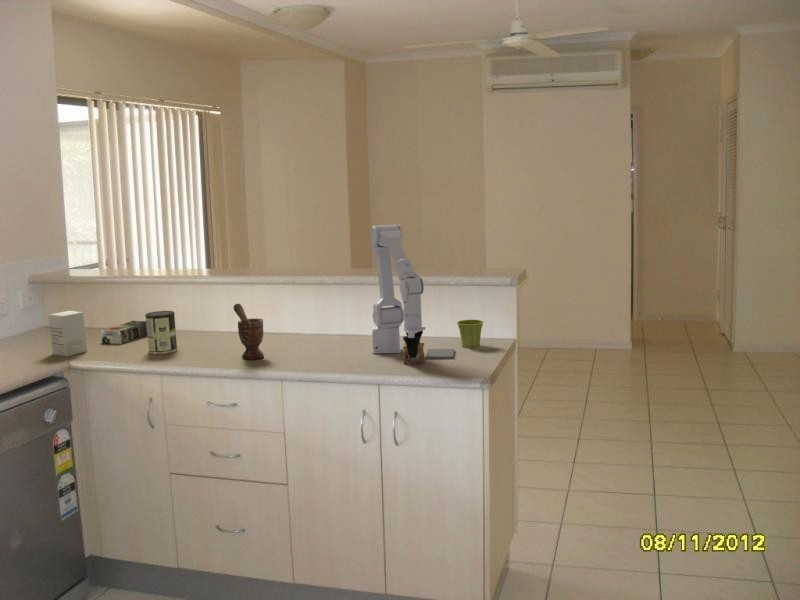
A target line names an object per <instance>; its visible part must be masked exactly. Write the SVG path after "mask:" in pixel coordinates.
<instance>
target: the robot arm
mask: <svg viewBox="0 0 800 600" xmlns="http://www.w3.org/2000/svg"><path fill="white" fill-rule="evenodd" d="M403 235H404V234H403V228H402V226H401V225H400V224H399V223H395V224H385V225H375V224H374V225H373V226H372V228H370V233H369V236H370V247H371V250H373V251H375V255H376V265H377V267H376V268H377V276H378V287H379V289H378V290H379V299H378V300H377V301H376V302H375V303H373V306H372V308H373V311H372V320H373V323H374V325H376V326H373V327H372V335H371V336H372V354H400V353H401V352H402V350H403V346H401V339H400V336H401V335H400V334H401V333H400V327H401V326H402V323H403V331H404V332H405V335H404V336H403V341H404V343H406V346H407V349H408V353H409V356H408V357H409V359H416V358H417V350H418V344H419V343H421V338H422V335H423V334H424V333H423V332H424V331H426V327H425V326H422V325H423V324H422V322H423V321H422V319H423V318H422V296H421V295H422V294H423V293H424V288H425V287H424V285H425V284H424V281H423V278H422V277H421V276H419V274H417V273H416V271H415V268H414V266H413V264H412V262H411V260H410V259H407V258H406V254H405V252H404V247H403V245H402V241H403ZM392 258H393V260H394V262H395V264H394V270H395V273H396V276H397V278H398V280H399V282H400V283H399V291H400V294H401V295H400V296H401V301H403V302H401V301H400V300H398V299H397V298H396V297H395V290H394V289H395V288H394V279H393V278H394V277H393V268H392ZM402 303H403V304H402Z"/></svg>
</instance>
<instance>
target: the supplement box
mask: <svg viewBox="0 0 800 600" xmlns="http://www.w3.org/2000/svg"><path fill="white" fill-rule="evenodd" d="M48 323H49V332H50V333H49V334H50V342H51V349H52V351H51V352H52V354H53V355H56V356H62V357H70V356H74V355H78V354H82V353H86V352H88V347H87V337H86V327H85V326H86V325H85V316H84V312H83V311H75V310H67V311H65V310H64V311H61V312H56V313H49V314H48Z"/></svg>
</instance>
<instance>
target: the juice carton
mask: <svg viewBox="0 0 800 600" xmlns="http://www.w3.org/2000/svg"><path fill="white" fill-rule="evenodd" d="M100 332H101V343H102V344H106V343H107V344H112V345H115V344H116V345H123V344H126V343H129V342H131V341H132V342H133V341H135V340H139V339H142V338H145V337H148V336H147V325H146V320H145V321H144V320H142V321H141V320H138V321H137V320H131V321H129V322H126V323H125V322H124V323H122V324H121V323H120V324H118V325H114V326H111V327H107V328H104V329H101V331H100Z"/></svg>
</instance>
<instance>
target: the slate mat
mask: <svg viewBox="0 0 800 600" xmlns="http://www.w3.org/2000/svg"><path fill="white" fill-rule="evenodd" d="M454 355H455V348H428V349H427V352H426V356H425V360H440V359H441V360H450V359H451V360H452V359H454Z"/></svg>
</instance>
